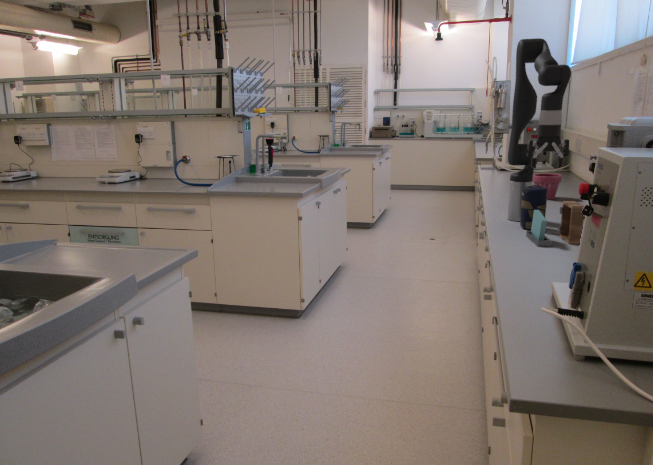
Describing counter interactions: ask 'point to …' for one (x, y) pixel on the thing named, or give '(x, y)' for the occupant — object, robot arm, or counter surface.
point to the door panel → (538, 225)
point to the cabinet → (571, 222)
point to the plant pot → (548, 183)
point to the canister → (532, 204)
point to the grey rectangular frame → (539, 242)
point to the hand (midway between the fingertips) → (545, 168)
